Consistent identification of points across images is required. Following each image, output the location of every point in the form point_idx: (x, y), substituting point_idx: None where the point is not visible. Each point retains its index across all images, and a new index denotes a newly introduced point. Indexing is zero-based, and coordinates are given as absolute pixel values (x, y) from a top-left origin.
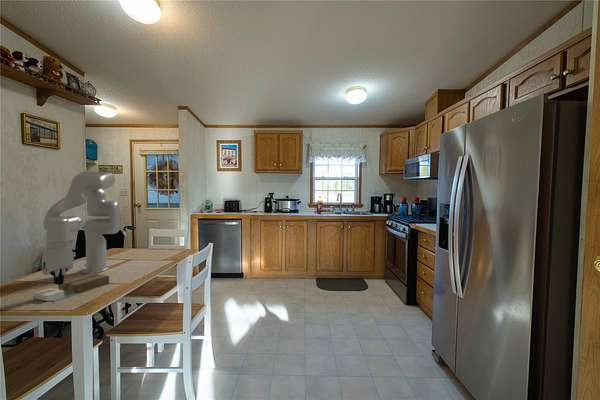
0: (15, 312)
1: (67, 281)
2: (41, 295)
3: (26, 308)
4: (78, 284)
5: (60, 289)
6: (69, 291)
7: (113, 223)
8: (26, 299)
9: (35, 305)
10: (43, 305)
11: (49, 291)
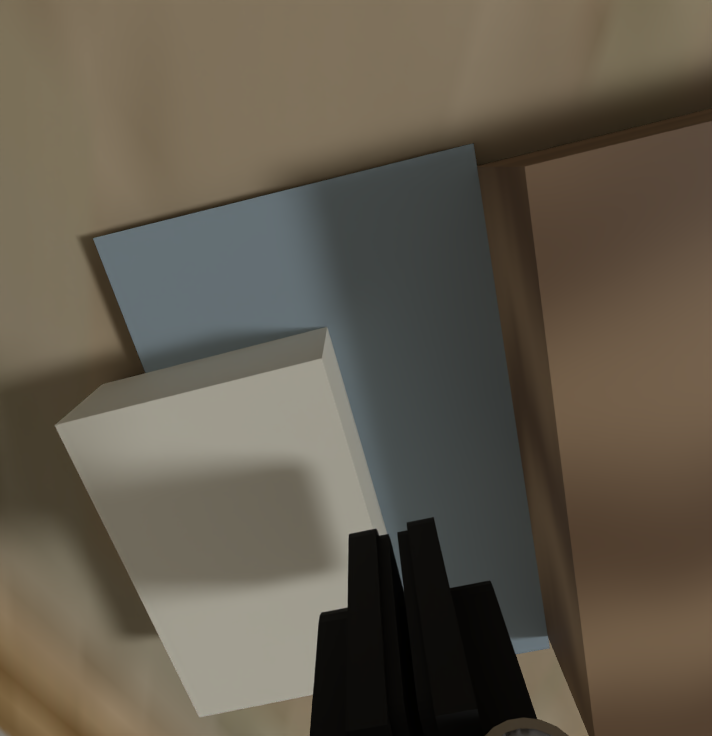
0: None
1: (636, 360)
2: (148, 590)
3: (29, 645)
4: (633, 722)
5: (485, 227)
6: (523, 475)
7: None
8: (17, 265)
9: (110, 625)
10: (177, 689)
11: (256, 547)
